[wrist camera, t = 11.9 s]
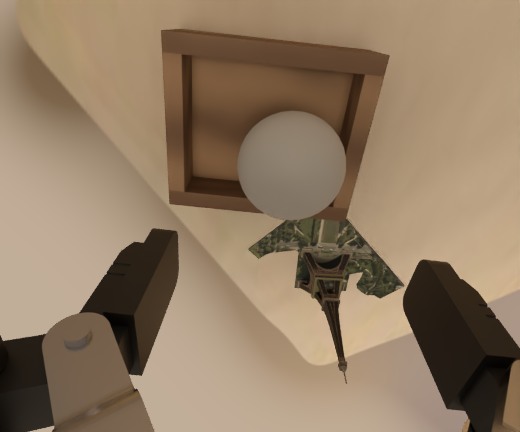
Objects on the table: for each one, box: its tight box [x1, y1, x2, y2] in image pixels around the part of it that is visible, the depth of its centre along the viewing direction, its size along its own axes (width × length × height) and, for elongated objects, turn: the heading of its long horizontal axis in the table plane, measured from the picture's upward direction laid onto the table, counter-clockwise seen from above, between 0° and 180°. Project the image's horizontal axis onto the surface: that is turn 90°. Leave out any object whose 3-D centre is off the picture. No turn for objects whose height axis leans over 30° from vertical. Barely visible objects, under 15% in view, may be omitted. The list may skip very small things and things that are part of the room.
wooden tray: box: [161, 29, 389, 222], centre depth 25 cm, size 12×14×5 cm
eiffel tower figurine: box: [248, 218, 404, 383], centre depth 30 cm, size 15×10×13 cm
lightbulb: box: [237, 111, 346, 220], centre depth 21 cm, size 6×6×11 cm
